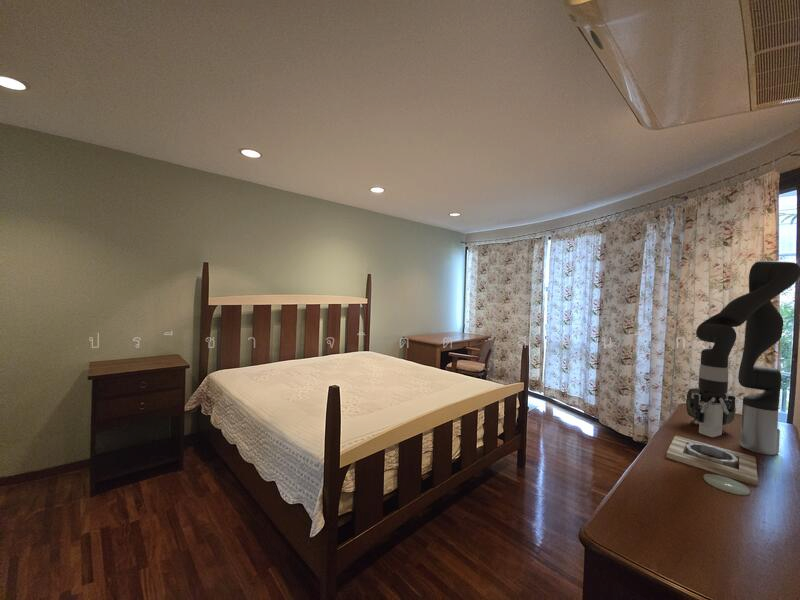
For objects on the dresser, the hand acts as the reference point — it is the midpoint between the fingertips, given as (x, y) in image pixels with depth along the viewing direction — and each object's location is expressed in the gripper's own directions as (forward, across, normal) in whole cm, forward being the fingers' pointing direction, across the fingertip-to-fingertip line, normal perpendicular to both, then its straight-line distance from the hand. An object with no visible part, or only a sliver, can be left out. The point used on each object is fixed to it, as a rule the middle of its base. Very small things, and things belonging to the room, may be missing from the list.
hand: (710, 422), depth 113 cm
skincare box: (+5, 0, 0) cm, 5 cm away
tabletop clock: (+15, +27, +31) cm, 44 cm away
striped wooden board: (+14, 0, -1) cm, 14 cm away
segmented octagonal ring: (+14, 0, -1) cm, 14 cm away
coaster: (+13, -10, -17) cm, 24 cm away
